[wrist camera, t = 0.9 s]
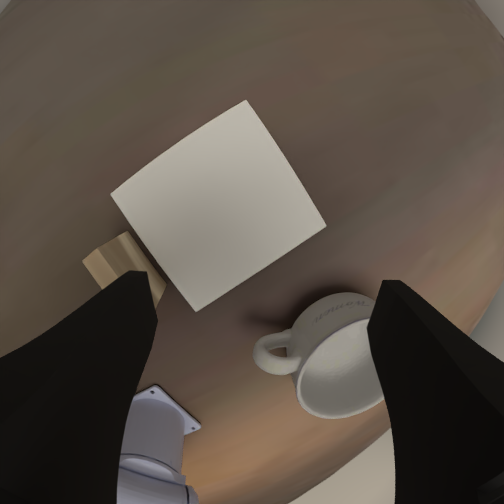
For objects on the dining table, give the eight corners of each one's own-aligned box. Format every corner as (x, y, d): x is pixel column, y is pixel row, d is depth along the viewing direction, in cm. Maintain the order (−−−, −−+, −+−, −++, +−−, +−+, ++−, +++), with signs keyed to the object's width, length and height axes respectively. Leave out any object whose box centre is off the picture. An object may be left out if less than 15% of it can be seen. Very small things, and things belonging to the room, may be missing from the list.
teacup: (391, 301, 29) (435, 335, 21) (343, 381, 31) (370, 427, 23) (278, 252, 26) (302, 282, 18) (230, 351, 28) (235, 405, 20)
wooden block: (154, 293, 26) (134, 329, 19) (115, 240, 24) (82, 261, 18) (167, 284, 26) (150, 318, 19) (127, 230, 24) (97, 247, 17)
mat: (196, 310, 26) (196, 312, 26) (111, 193, 23) (110, 194, 23) (325, 225, 26) (326, 226, 25) (245, 100, 23) (246, 99, 22)
